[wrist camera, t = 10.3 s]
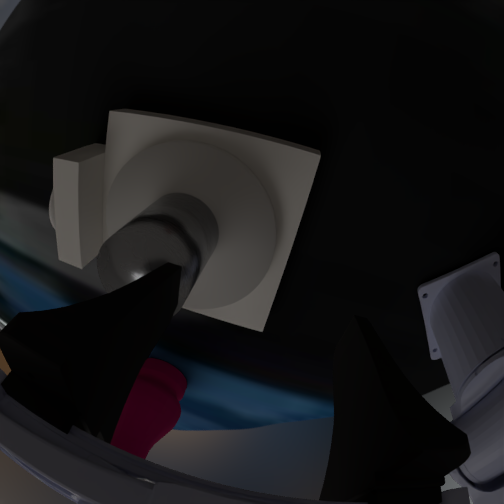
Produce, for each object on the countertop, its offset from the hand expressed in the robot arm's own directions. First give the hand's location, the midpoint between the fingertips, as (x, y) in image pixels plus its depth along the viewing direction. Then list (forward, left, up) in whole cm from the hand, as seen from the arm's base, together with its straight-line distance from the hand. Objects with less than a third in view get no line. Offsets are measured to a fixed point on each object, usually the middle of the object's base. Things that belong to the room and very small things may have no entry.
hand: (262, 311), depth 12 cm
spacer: (+3, +6, -7) cm, 10 cm away
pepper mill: (-11, +21, -11) cm, 26 cm away
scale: (+4, +7, -10) cm, 13 cm away
